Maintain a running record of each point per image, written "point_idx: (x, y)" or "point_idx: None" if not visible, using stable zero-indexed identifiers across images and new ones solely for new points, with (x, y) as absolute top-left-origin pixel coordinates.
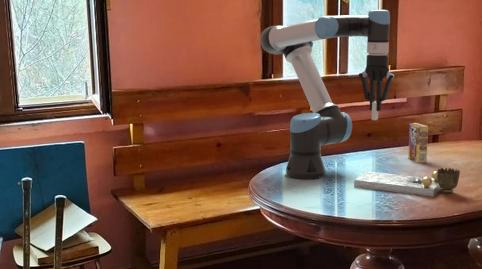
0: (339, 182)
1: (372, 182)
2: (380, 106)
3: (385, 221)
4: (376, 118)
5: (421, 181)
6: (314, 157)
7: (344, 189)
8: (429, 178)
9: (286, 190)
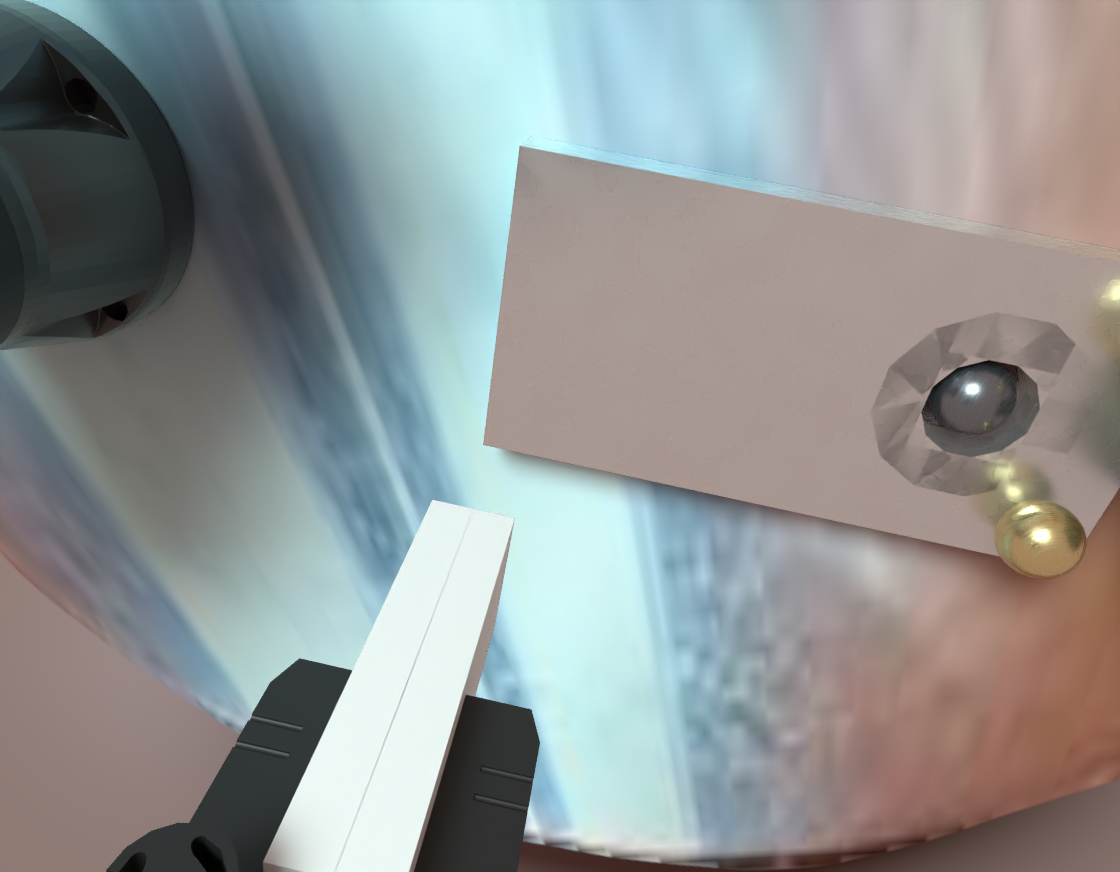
0: (367, 338)
1: (619, 472)
2: (516, 839)
3: (746, 869)
4: (495, 613)
5: (1007, 416)
6: (34, 310)
7: (454, 490)
8: (1071, 568)
9: (168, 564)
